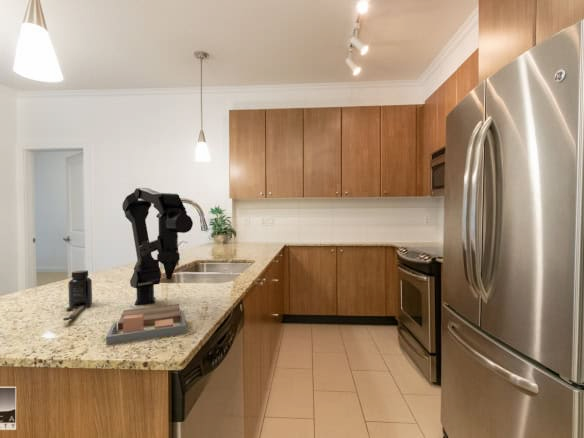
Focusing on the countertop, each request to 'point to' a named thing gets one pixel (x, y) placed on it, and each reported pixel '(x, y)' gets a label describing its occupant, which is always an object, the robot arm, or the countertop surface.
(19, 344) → the countertop surface
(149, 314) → the walnut board
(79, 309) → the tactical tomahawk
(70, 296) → the supplement bottle
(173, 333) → the tray
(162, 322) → the block
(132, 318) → the tile
